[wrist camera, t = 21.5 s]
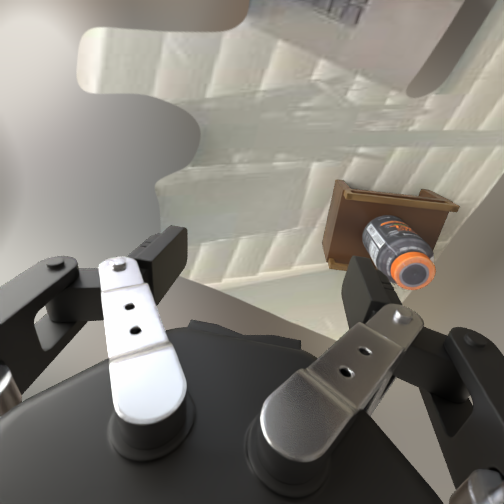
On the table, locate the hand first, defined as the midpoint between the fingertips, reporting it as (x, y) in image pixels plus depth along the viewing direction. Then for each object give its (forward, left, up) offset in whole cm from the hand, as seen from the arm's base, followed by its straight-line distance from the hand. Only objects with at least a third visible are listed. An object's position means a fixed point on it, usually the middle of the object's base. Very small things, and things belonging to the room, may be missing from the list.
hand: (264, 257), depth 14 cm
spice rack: (+7, +15, -33) cm, 37 cm away
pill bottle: (+7, +15, -26) cm, 31 cm away
